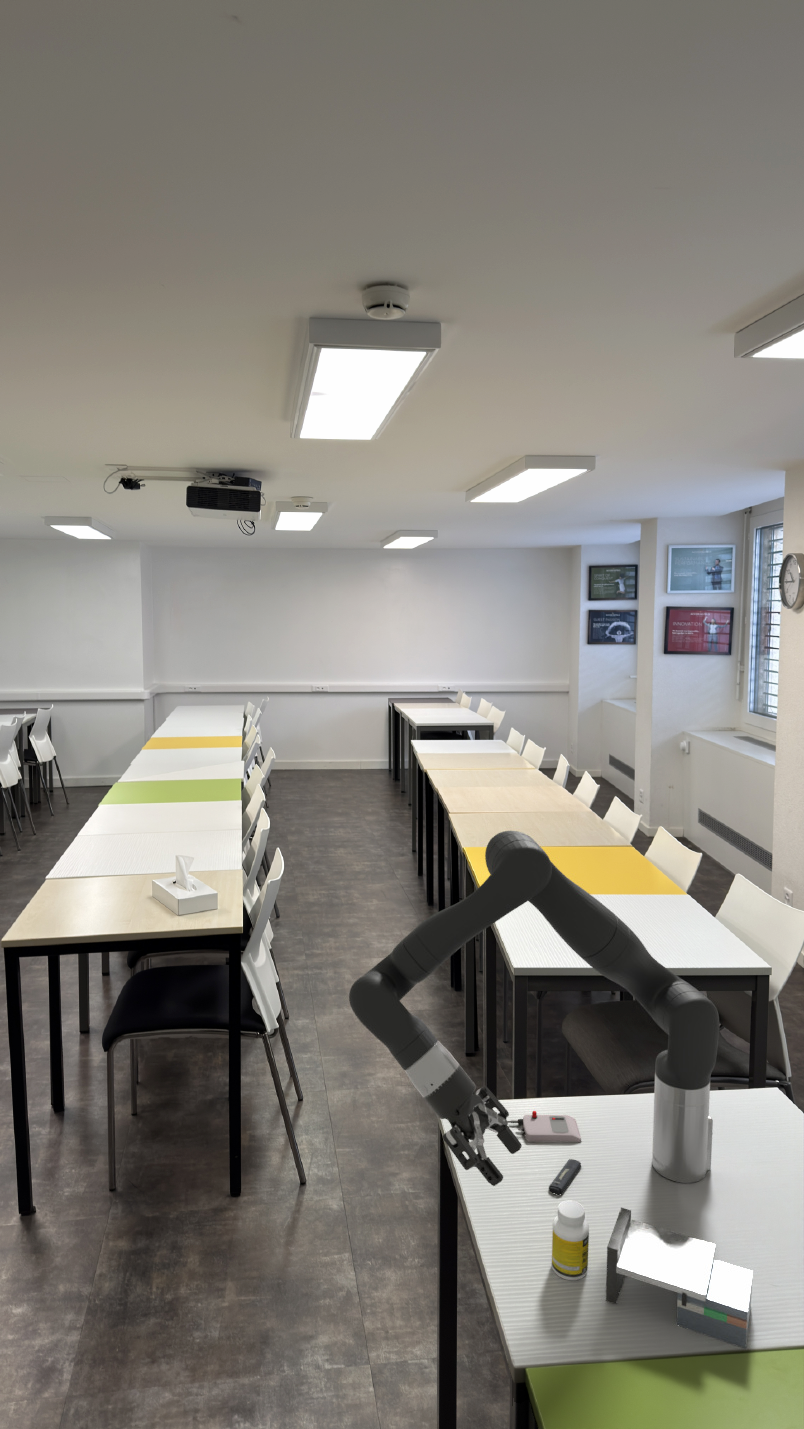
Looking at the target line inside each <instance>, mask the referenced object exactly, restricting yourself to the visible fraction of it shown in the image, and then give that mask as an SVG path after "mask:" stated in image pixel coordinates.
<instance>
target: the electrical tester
mask: <svg viewBox="0 0 804 1429" xmlns="http://www.w3.org/2000/svg"><path fill="white" fill-rule="evenodd" d="M537 1113H538V1112H537V1111H536V1110H533V1111H532V1113H531V1114H524V1115H523V1117H522V1118H519V1119H516V1120H513V1119H511V1120H507V1122H508V1124H509V1123H510V1124H518V1125H520V1126H522V1127H521V1128H518V1129H517V1130H518V1131H515V1134H516V1135H517V1134H518V1135H520V1134H521V1135H524V1137H525V1139H526V1141H528V1142H533V1143H534V1142H535V1143H537V1142H542V1143H543V1142H544V1143H545V1142H546V1143H548V1142H549V1143H560V1142H561V1143H581V1142H582V1137H581V1133H580V1132H581V1131H580V1130H579V1129H580V1128H579V1126H578V1123H577V1120H576V1118H574V1117H572V1116H570V1115H566V1114H537Z"/></svg>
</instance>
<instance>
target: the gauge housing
mask: <svg viewBox="0 0 804 1429" xmlns="http://www.w3.org/2000/svg"><path fill="white" fill-rule="evenodd" d="M753 1272H754V1271H753V1270H750V1269H747V1268H744V1267H740V1266H737V1265H733V1264H730V1263H727V1262H724V1261H721V1260H717V1259H714V1258H713V1264H712V1269H711V1274H710V1280H709V1285H708V1290H707V1296H706V1301H702V1300H699V1299H696V1298H693V1297H690V1296H687V1305H686V1306H683V1305H682V1294H681V1293H678V1292H677V1301H676V1303H677V1304H676V1308H677V1309H676V1310H677V1311H676V1326H678V1325H679V1326H678V1327H681V1326H682V1328H684V1329H686V1328H688V1329H687V1330H689V1329H690V1330H689V1331H692V1332H695V1333H698V1334H701V1335H705V1336H706V1337H707V1336H708V1337H711V1338H713V1339H716V1340H720V1341H721V1342H722V1341H723V1342H725V1343H727V1344H731V1345H734V1346H737V1347H740V1348H743V1349H746V1348H747V1341H748V1333H749V1332H748V1331H749V1325H750V1324H749V1323H750V1315H751V1310H752V1309H751V1308H752V1291H753V1274H754V1273H753Z"/></svg>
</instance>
